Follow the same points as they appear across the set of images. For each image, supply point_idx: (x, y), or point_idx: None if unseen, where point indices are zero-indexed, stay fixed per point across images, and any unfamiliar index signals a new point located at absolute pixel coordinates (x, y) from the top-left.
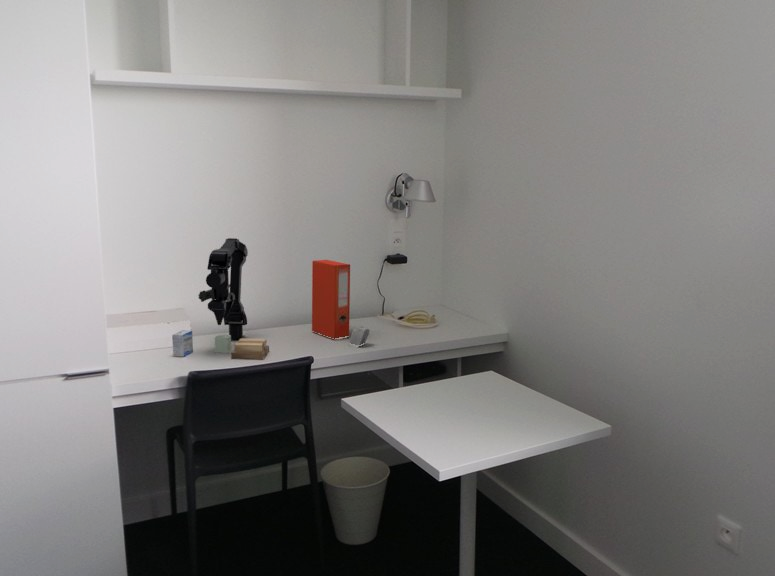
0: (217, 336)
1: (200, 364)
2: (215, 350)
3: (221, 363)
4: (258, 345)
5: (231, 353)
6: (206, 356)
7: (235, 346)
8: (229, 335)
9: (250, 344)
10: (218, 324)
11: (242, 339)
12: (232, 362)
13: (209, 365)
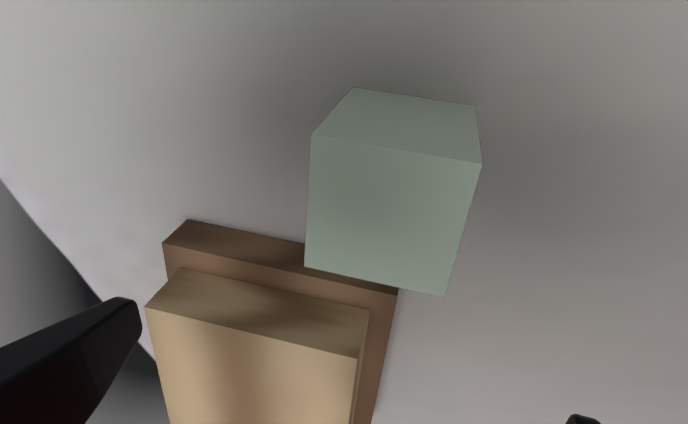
0: (378, 161)
1: (9, 18)
2: (348, 95)
3: (82, 166)
4: (172, 422)
5: (164, 244)
6: (220, 25)
7: (153, 300)
8: (422, 285)
9: (178, 391)
10: (114, 307)
11: (313, 364)
12: (122, 228)
13: (16, 92)
